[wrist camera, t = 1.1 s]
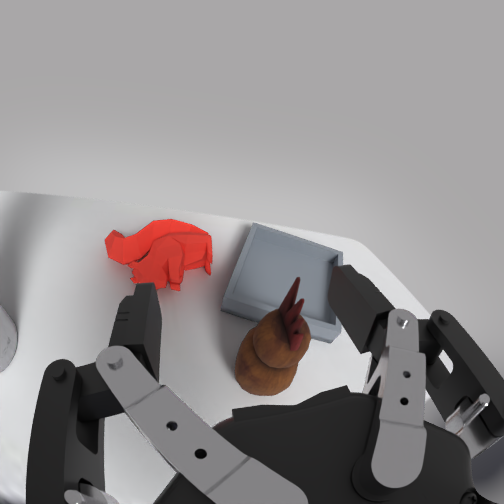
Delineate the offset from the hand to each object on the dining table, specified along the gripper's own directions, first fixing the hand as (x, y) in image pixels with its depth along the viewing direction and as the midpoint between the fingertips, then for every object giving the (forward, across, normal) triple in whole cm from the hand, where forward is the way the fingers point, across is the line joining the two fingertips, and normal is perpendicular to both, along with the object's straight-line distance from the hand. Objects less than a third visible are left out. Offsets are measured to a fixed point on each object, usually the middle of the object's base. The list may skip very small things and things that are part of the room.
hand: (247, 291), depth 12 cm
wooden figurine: (+8, -3, +18) cm, 20 cm away
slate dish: (+20, -10, +15) cm, 27 cm away
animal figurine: (+23, +8, +12) cm, 28 cm away
